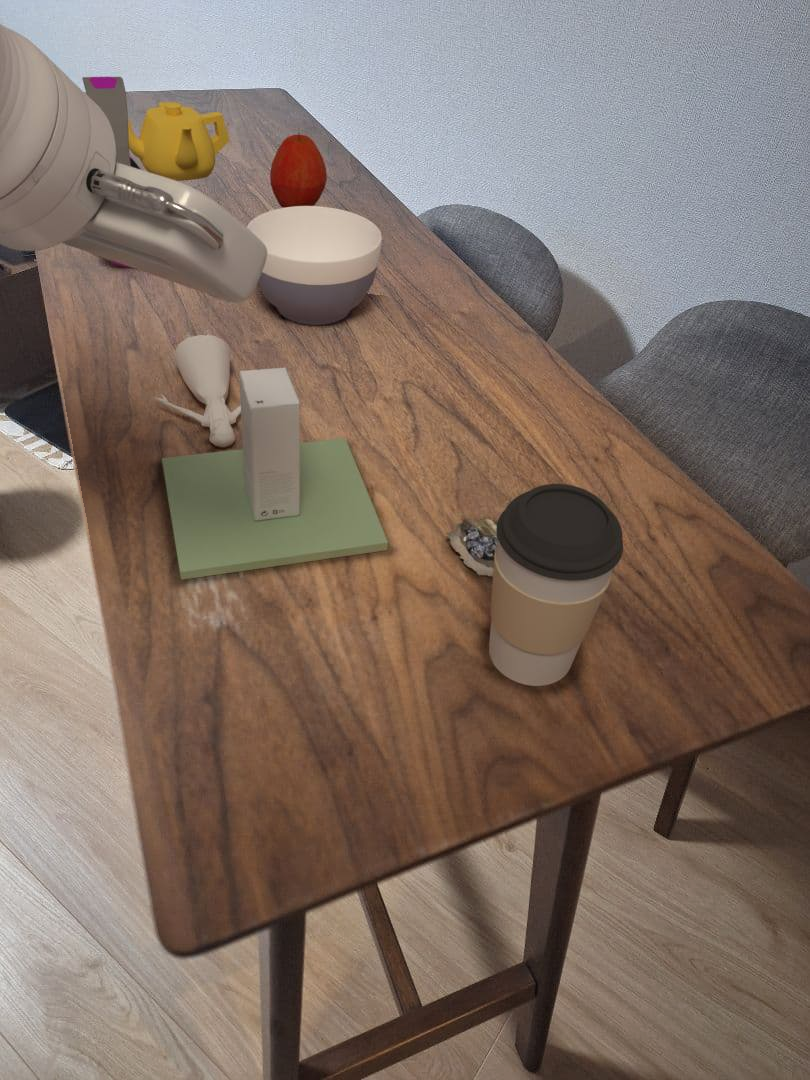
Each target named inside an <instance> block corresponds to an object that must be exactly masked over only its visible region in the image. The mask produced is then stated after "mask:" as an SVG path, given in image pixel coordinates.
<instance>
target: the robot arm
mask: <svg viewBox="0 0 810 1080" xmlns="http://www.w3.org/2000/svg"><path fill="white" fill-rule="evenodd" d="M140 169H141V168H140ZM140 169H137V168H134V167H130V166H127V165H124V164H121V163H117V162H116V145H115V138H114V133H113V130H112V127H111V125H110V123H109V120H108V118H107V117H106V115H105V114H104V112H103V111H102V110H101V109H100V107H99V106H98V105H97V104H96V103H95V102H94V101H93V100H92V99H90V98H89V97H88V96H87V94H86V92H84V91H83V89H82V88H80V86H78V85H77V84H76V83H75V82H74V81H73V80H72V79H71V78H70V77H69V76H68V75H67V74H66V73H65V72H64V71H63V70H62V69H61V68H59V66H57V65H56V64H55V63H54V62H53V61H52V59H50V58H49V57H48V56H47V55H46V54H45V52H43V51H42V50H41V49H40V48H39V47H38V46H37V45H36V44H34V43H33V42H32V41H31V40H29V39H28V38H27V37H25V36H24V35H22V34H21V33H18V32H17V31H15V30H12V29H11V28H9V27H6V26H5V25H3V24H1V23H0V245H1V246H3V247H6V248H7V249H11V250H14V251H20V252H38V251H43V250H46V249H50V248H53V247H55V246H57V245H60V244H63V245H66V246H70V247H72V248H74V249H78V250H81V251H84V252H87V253H90V254H91V255H92V256H94V257H97V258H100V259H102V260H106V261H107V262H110V261H111V262H110V263H112V261H115V262H118V263H121V264H123V265H126V266H129V267H128V268H132V269H135V270H138V271H141V272H144V273H147V274H149V275H152V276H155V277H157V278H161V279H164V280H166V281H169V282H172V283H174V284H175V283H176V284H178V285H180V286H184V287H186V288H189V289H192V290H195V291H197V292H200V293H204V294H206V295H208V296H209V297H211V298H214V299H217V300H220V301H223V302H225V303H228V304H229V303H232V304H236V305H243V304H244V303H245V302H246V301H247V300H249V299H250V298H251V296H252V294H253V292H254V291H255V289H256V287H257V286H258V285H257V283H258V281H259V278H260V276H261V273H262V271H263V268H264V265H265V262H266V258H267V248H266V246H265V245H264V243H263V242H262V241H261V240H260V239H259V238H258V237H257V236H256V235H255V234H253V233H252V232H251V231H250V230H249V229H248V228H247V226H246V225H244V223H242V222H241V221H240V220H238V218H236V217H235V216H234V215H233V214H231V212H229V211H228V210H227V209H225V207H223V206H222V205H220V204H219V203H218V202H217V201H216V200H214V199H212V198H211V197H209V196H208V195H207V194H205V193H203V192H201V191H200V190H198V189H196V188H194V187H192V186H190V185H189V184H186V183H184V182H181V181H176V180H173V179H170V178H166V177H163V176H160V175H157V174H153V173H150V172H148V171H147V170H145V169H144V170H143V169H141V170H140Z"/></svg>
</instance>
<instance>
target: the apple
mask: <svg viewBox="0 0 810 1080" xmlns="http://www.w3.org/2000/svg"><path fill="white" fill-rule="evenodd" d="M327 175H328V174H327V167H326V164H325V160H324V158H323V156H322V154H321V151H320V150H319V148H318V146H317V144H316V143H315V142H314V140H312V138H311V137H309V136H308V135H305V134H301V133H300V132H298V133H297V134H292V135H290V136H287V137H286V138H284V139H283V141H282V142H281V144H280V145H279V147H278V149H277V150H276V153H275V155H274V158H273V160H272V162H271V167H270V171H269V177H270V179H269V180H270V186H271V190H272V192H273V195H274V197H275V199H276V201H277V203H278V205H279V206H280V207H281V208H286V207H294V206H316V204H317V203H318V202H319V200H320V199H321V196H322V194H323V192H324V190H325V188H326V185H327V180H328V176H327Z"/></svg>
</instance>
